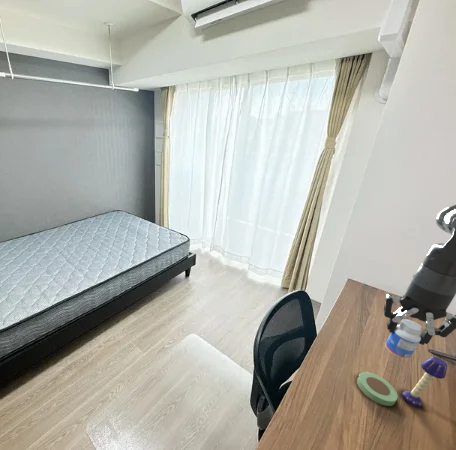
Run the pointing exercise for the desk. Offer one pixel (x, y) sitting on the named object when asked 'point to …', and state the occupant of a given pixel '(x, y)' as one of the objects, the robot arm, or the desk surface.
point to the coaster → (377, 389)
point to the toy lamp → (426, 379)
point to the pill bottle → (404, 339)
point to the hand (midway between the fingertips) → (405, 336)
